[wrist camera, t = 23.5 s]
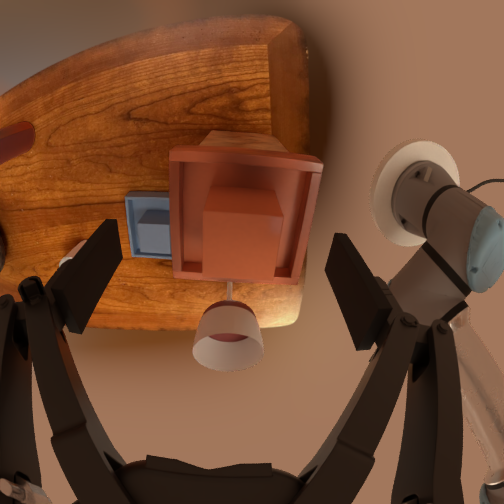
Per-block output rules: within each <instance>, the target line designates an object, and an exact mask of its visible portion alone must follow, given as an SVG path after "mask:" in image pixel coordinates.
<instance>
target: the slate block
mask: <svg viewBox="0 0 504 504" xmlns="http://www.w3.org/2000/svg"><path fill="white" fill-rule="evenodd" d="M137 226H138V236H139V244H140V252H147V253H162V254H171V234H170V211H162V210H146V212H145V213H144V215H143V216H142V217H141V219H140V220H139V222H138V223H137Z"/></svg>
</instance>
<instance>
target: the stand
mask: <svg viewBox="0 0 504 504" xmlns="http://www.w3.org/2000/svg"><path fill="white" fill-rule="evenodd" d="M323 166H324V164H323V163H322V162H321V161H320V160H319V159H318V158H317V157H315V156H310V155H303V154H296V153H289V152H288V151H287V149H286V148H285V147H284V146H283V145H282V144H281V143H280V142H279V141H278V140H277V138H276V137H275V136H274V135H267V134H257V133H246V132H232V131H215V130H212V131H211V132H210V133H209V134H208V135H207V136H206V138H205V139H204V140H203V141H202V142H201V143H200V145H176V146H175V147H174V148H172V149H171V150H170V151H169V210H170V234H171V252H172V266H173V278H181V279H194V280H209V281H225V282H242V283H262V284H283V285H298V281H299V277H300V273H301V269H302V265H303V260H304V256H305V252H306V248H307V243H308V239H309V234H310V230H311V225H312V220H313V216H314V211H315V207H316V202H317V196H318V192H319V186H320V181H321V176H322V174H321V173H322V171H323ZM210 186H224V187H239V188H252V189H264V190H274V191H275V193H276V196H277V198H278V201H279V204H280V207H281V210H282V213H283V215H284V221H283V227H282V233H281V239H280V245H279V250H278V256H277V262H276V268H275V273H274V279H273V281H268V280H248V279H230V278H214V277H203V276H202V230H203V209H204V206H205V203H206V199H207V196H208V193H209V190H210Z"/></svg>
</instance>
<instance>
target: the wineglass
mask: <svg viewBox="0 0 504 504" xmlns="http://www.w3.org/2000/svg"><path fill="white" fill-rule="evenodd" d="M263 355H264V348H263V341H262V336H261V332H260V328H259V325H258V322H257V319H256V316H255V314H254V312H253V311H252V309H251V308H250V307H248V306H247V305H246V304H244V303H242V302H239V301H234V300H232V282H228V283H227V300H224V301H219V302H216V303H214V304H212V305H211V306H210V307H208V308H207V309H206V311H205V312H204V314H203V316H202V318H201V320H200V323H199V325H198V328H197V332H196V336H195V340H194V345H193V356H194V358H195V359H196V360H197V361H198V362H199V363H200V364H202V365H203V366H205V367H208V368H210V369H213V370H218V371H240V370H244V369H247V368H250V367H252V366H254V365H256V364H257V363H258V362H260V360H261V359H262V358H263Z"/></svg>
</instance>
